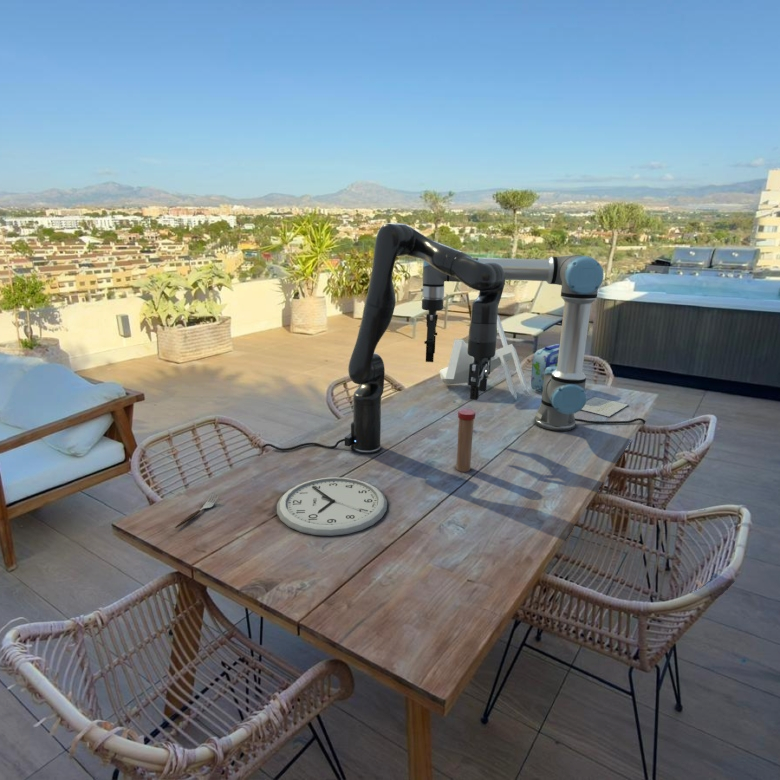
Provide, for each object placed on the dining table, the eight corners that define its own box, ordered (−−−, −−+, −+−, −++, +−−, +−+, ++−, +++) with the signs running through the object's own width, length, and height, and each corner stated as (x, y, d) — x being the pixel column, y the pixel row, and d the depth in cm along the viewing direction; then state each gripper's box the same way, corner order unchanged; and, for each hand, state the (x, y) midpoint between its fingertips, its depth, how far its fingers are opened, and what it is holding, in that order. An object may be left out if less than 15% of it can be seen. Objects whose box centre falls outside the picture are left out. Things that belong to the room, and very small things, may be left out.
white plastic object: (461, 429, 252) (437, 405, 227) (444, 352, 274) (420, 323, 250) (535, 404, 240) (518, 377, 215) (510, 326, 262) (492, 293, 237)
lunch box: (547, 396, 238) (552, 351, 232) (526, 391, 246) (531, 347, 239) (574, 385, 256) (579, 343, 250) (554, 380, 263) (559, 340, 257)
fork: (171, 528, 130) (170, 521, 130) (212, 499, 145) (211, 492, 144) (179, 530, 129) (178, 523, 129) (220, 500, 144) (219, 494, 143)
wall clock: (392, 527, 129) (268, 531, 127) (391, 533, 130) (269, 537, 127) (383, 473, 158) (282, 475, 155) (383, 478, 158) (282, 480, 156)
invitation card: (608, 416, 214) (573, 407, 224) (608, 416, 214) (573, 408, 224) (628, 404, 229) (594, 396, 238) (628, 405, 229) (594, 397, 238)
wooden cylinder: (453, 467, 166) (456, 412, 161) (463, 464, 169) (467, 409, 163) (462, 473, 163) (466, 416, 157) (473, 469, 165) (477, 414, 160)
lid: (454, 416, 161) (454, 410, 161) (467, 413, 164) (467, 408, 164) (465, 421, 157) (465, 415, 157) (478, 418, 160) (478, 412, 159)
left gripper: (476, 332, 150) (472, 386, 155) (461, 341, 137) (457, 400, 142) (502, 335, 147) (497, 390, 152) (489, 344, 134) (484, 404, 139)
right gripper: (424, 293, 195) (422, 349, 202) (419, 302, 172) (417, 365, 178) (444, 294, 195) (441, 350, 201) (442, 303, 171) (439, 366, 177)
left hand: (478, 395), depth 147 cm, fingers open, 8 cm apart
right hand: (430, 357), depth 190 cm, fingers open, 13 cm apart
